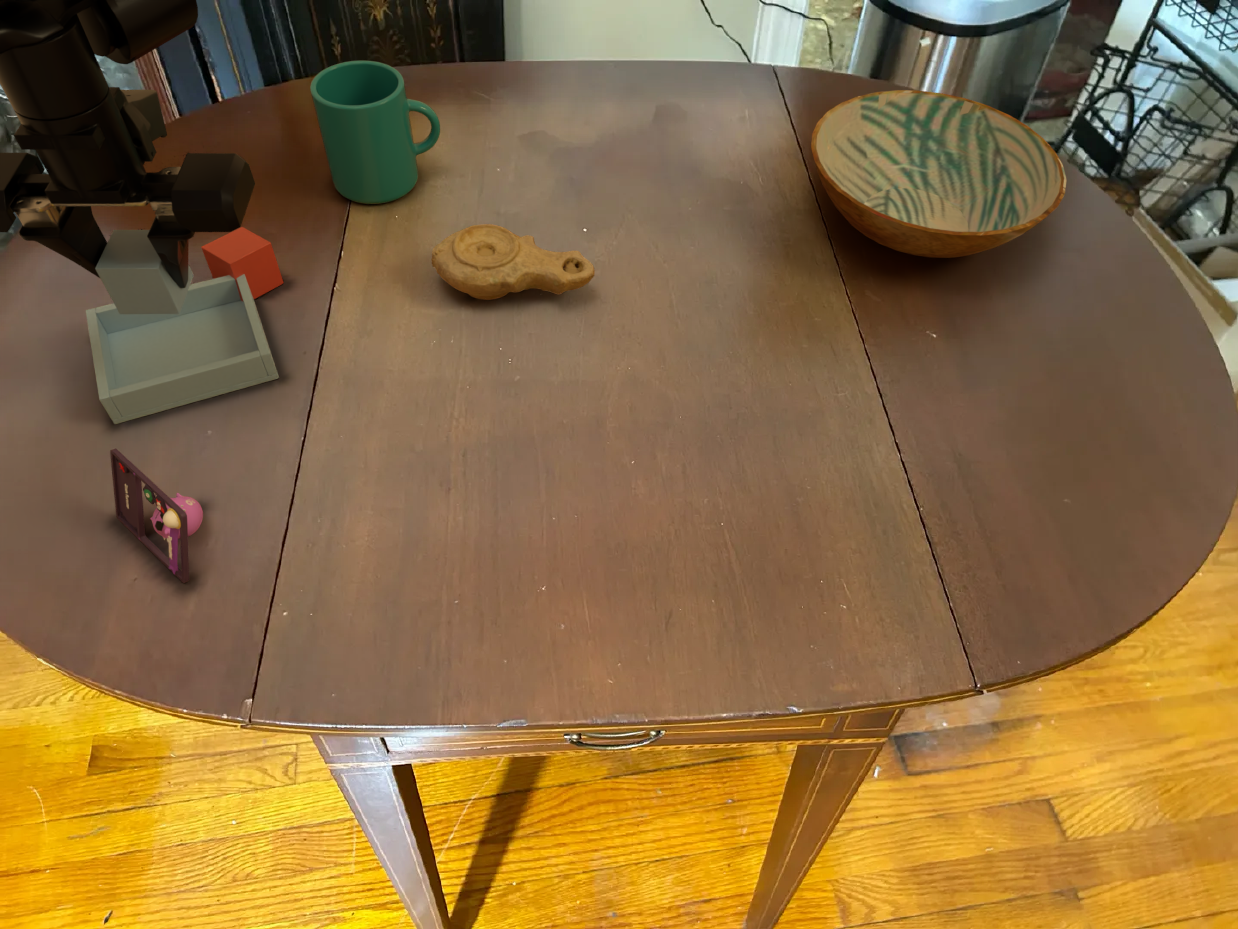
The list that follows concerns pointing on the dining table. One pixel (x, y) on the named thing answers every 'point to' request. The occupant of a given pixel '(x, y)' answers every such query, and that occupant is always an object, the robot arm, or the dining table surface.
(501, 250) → the oil lamp
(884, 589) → the dining table surface
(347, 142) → the cup
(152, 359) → the gray tray
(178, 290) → the gray block
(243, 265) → the red block
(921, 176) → the bowl
